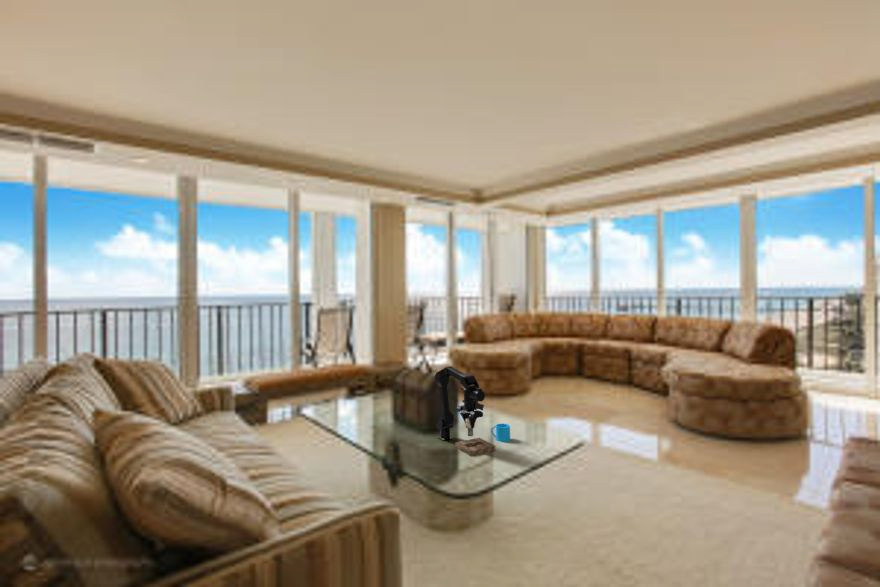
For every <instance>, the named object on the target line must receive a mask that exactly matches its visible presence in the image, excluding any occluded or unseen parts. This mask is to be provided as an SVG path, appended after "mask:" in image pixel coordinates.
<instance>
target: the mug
mask: <svg viewBox="0 0 880 587" xmlns="http://www.w3.org/2000/svg"><path fill="white" fill-rule="evenodd" d="M494 429H495V433H494ZM490 433H491V435H492V436H493V437H495V439H496V441H497V442H499V441H500V443H507V441H508V442H510V441H511V425H510V424H509V423H498V424H495V425H493V426H492V427H491V429H490Z"/></svg>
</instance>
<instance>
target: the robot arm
mask: <svg viewBox="0 0 880 587" xmlns="http://www.w3.org/2000/svg"><path fill="white" fill-rule="evenodd" d="M451 377H452V378H454V379H455V380H456V381H457V380H458V381H459V384H460V385H462V387H461V388H460V389H461V390H462V391H463V399H462V403H463V405H457V407H456V412H457V413H459V414H460V416H461V417H462V419H463V422H464V424H465V425H466V418H468V419H469V422H470V425H471V428H473V429H474V428H475V427H474V425H476V421H477V419H478V418H483V417H484V412H483V411H484V407H485V405H484V404H483V403H481V402H483V401H484V400H485V398H486V393H485V392H484V391H483V390H482V387H480V385H479V383H478V382H477V379H476V376H475V375H473V374H471V373H464V372H462V371H461V370H458V369H456V368H455V367H454V366H453V365H452V366H451V365H449V366H445V367H443V368H442V369H441V370H439V371H436V372H435V374H434V380H435V383H436V385H437V386H438V390H439V399H440V400H439V401H440V402H439V403H440V410H441V412H440V414H439V418H438V420H439V421H438V422H437V423H436V430H439V432H440V435H439V437H441V438H444V439H449V440H451V439H450V437H451V431H450V430H451V428H453V427H454V424H455V414H454V413H453V412H451V410H450V408H451V407H450V401H449V400H450V398H449V390H448V385H449V383H450V378H451ZM479 402H480V403H479Z"/></svg>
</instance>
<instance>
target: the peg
mask: <svg viewBox="0 0 880 587" xmlns="http://www.w3.org/2000/svg"><path fill="white" fill-rule="evenodd" d="M475 425H476V424H475ZM475 425H474V428H475ZM465 428H466V429H467V437H473V436H474V428H471V425H470V422H469V419H468V418H466V424H465Z"/></svg>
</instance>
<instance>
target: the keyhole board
mask: <svg viewBox="0 0 880 587" xmlns="http://www.w3.org/2000/svg"><path fill="white" fill-rule="evenodd" d="M454 445H455V448H456V447H457V449H458V450H460V451H461V452H463V453H464V454H466V455H467V456H470V457H472V456H477V455H481V454H486V453H489V452H495V451H496V449H497V448H496V445H495V444H493V443H491V442H489V441H488V440H485V439H483V438H481V437H475V438H471V439H467V440H466V439H465V440H461V441H457V442H455V443H454Z"/></svg>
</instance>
